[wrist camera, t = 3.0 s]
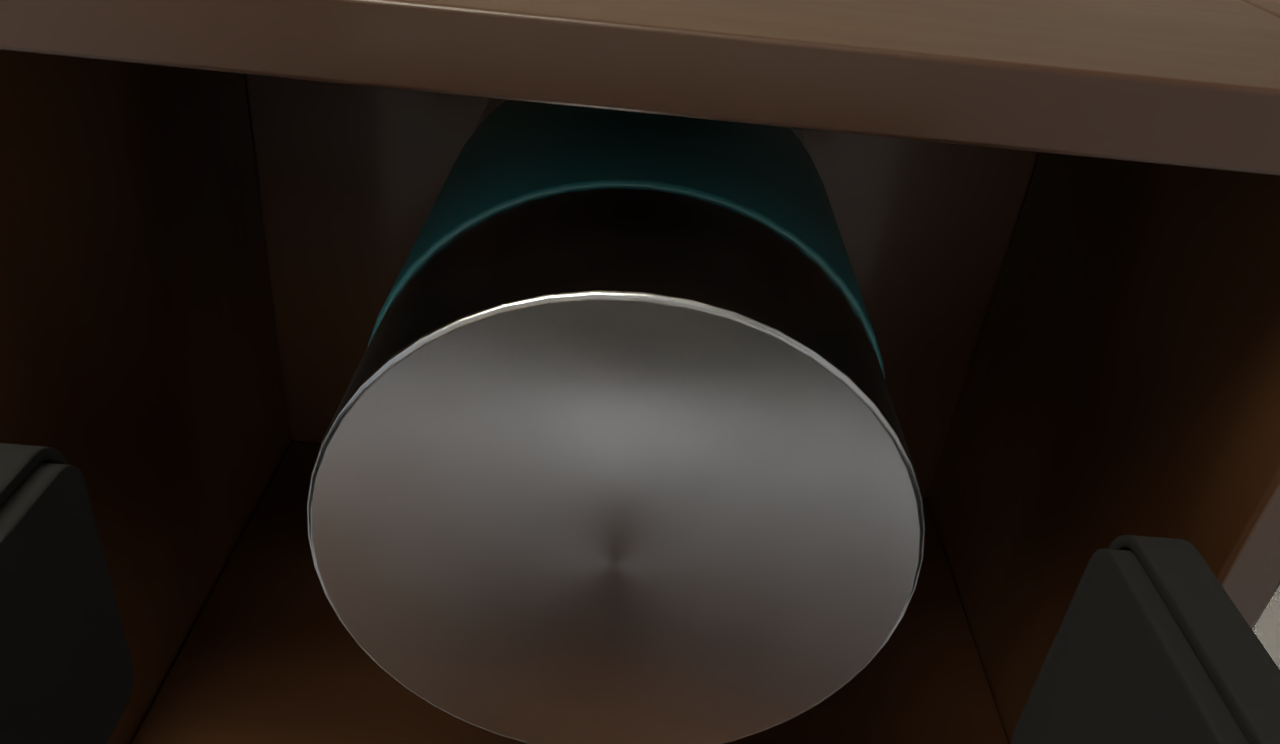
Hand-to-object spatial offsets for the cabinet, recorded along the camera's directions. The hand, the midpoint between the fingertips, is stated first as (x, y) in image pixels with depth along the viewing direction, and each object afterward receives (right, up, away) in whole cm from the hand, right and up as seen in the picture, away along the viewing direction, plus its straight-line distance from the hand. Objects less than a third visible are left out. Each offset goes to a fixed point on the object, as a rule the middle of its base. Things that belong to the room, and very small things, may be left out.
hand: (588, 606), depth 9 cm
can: (0, +5, +7) cm, 9 cm away
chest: (0, +5, +9) cm, 10 cm away
